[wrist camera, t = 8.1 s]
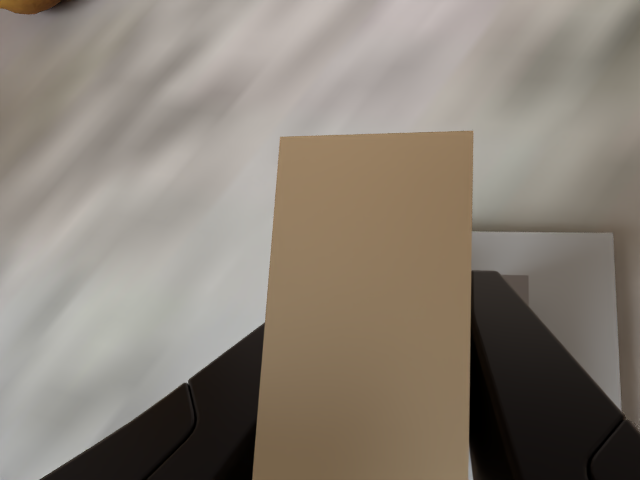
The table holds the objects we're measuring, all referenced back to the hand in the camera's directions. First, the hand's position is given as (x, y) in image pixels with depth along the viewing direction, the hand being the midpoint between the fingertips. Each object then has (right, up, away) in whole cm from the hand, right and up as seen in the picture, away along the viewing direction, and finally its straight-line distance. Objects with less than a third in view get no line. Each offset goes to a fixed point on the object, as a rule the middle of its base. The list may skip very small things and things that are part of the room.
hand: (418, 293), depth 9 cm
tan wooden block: (+1, -3, +6) cm, 7 cm away
